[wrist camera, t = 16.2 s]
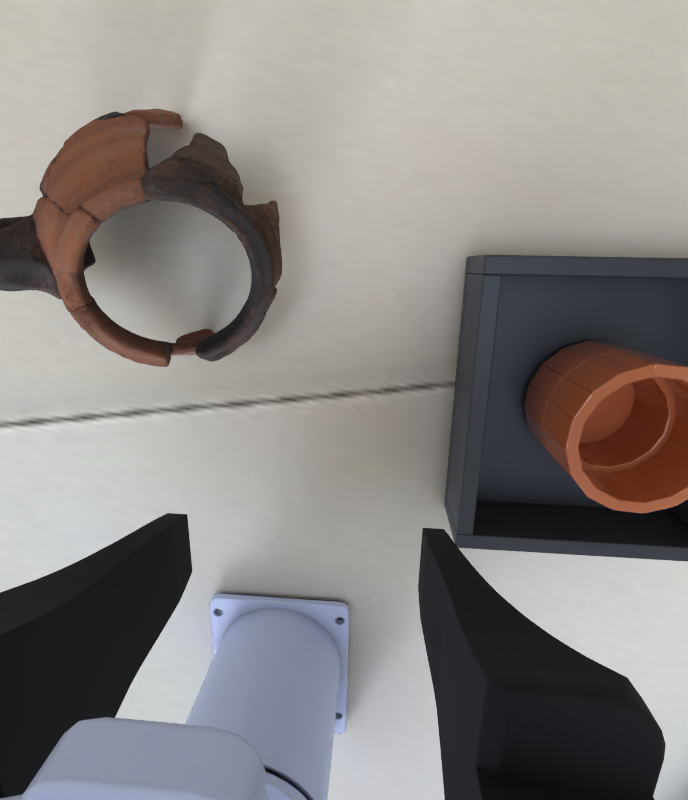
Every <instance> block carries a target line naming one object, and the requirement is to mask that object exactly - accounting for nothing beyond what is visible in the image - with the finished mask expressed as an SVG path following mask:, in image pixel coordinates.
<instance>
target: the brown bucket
mask: <svg viewBox="0 0 688 800" xmlns="http://www.w3.org/2000/svg"><path fill="white" fill-rule="evenodd" d="M529 384H530V385H528V389H527V394H526V399H525V403H524V412H525V416H526V420H527V425H528V428H529V430H530V432H531V433H532V434H533V435H534V437H535V438H536V439H537V441H538V442H539V443H540V444H541V446H542V447H543V448H544V449H545V450H546V451H547V452H548V453H549V455H550V456H551V457H552V458H553V459H554V460H555V461H556V462H557V463H558V465H559V466H560V467H561V468H562V469H563V470H564V471H565V472H566V474H567V475H568V476H569V477H570V478H571V479H572V480H573V481H574V482H575V484H576V485H577V486H578V487H579V488H580V489H581V490H582V491H583V493H584V494H585V495H586V496H588V497H589V498H591V499H593V500H594V501H596V502H598V503H600V504H602V505H604V506H606V507H608V508H610V509H612V510H617V511H626V512H635V513H648V512H653V511H657V510H662V509H666V508H671V507H674V506H677V505H679V504H680V503H682V502H684V501H685V500H687V499H688V367H686V366H683V365H680V364H677V363H674V362H671V361H668V360H665V359H662V358H659V357H656V356H653V355H650V354H647V353H644V352H641V351H638V350H635V349H632V348H629V347H626V346H623V345H620V344H616V343H612V342H601V341H586V342H582V343H579V344H575V345H572V346H568V347H565V348H563V349H562V350H560V351H559V352H557V353H556V354H555V355H553V356H552V357H551V358H549V359H548V360H546V361H545V362H544V363H543V364H542V365H541V367H540V368H539V370H538V371H537V373H536V374H535V375H534V377H533V378H532V380H531V381H530V383H529Z"/></svg>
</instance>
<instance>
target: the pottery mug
mask: <svg viewBox="0 0 688 800" xmlns="http://www.w3.org/2000/svg"><path fill="white" fill-rule="evenodd" d="M181 127H182V120H181V116H180V115H179V114H177V113H174V112H170V111H166V110H161V109H150V110H132V111H129V112H126V113H119V112H112V113H109V114H106V115H104V116H101V117H99V118H97V119H95V120H93V121H91V122H90V123H88V124H87V125H85V126H83V127H82V128H80V129H79V130H77V131H76V132H75V133H74V134H72V135H71V136H70V138H69V139H67V140H66V141H65V143H64V146H63V147H62V148H61V150H60V151H59V152H58V154H57V155H56V157H55V158H54V159H53V160H52V161H51V163H50V164H49V166H48V168H47V169H46V172H45V174H44V176H43V179H42V181H41V183H40V191H41V192H42V194H43V197H42V198H40V199H39V200H38V201H37V204H36V207H35V209H34V212H33V214H32V215H30V216H25V217H14V218H2V219H0V290H3V291H22V290H39V291H43V292H46V293H49V294H51V295H53V296H55V297H56V298H58V299H62V300H63V302H64V304H65V306H66V308H67V310H68V311H69V312H70V313H71V315H72V316H73V318H74V319H75V320H76V321H77V322H78V323H79V325H80V326H81V327H82V328H83V329H84V330H85V331H86V332H87V333H88V334H89V335H90V336H91V337H93V338H94V339H95V340H96V341H97V342H99V343H100V344H101V345H103V346H104V347H105V348H107V349H108V350H110V351H113V352H115V353H117V354H119V355H121V356H122V357H124V358H128V359H130V360H132V361H135V362H138V363H143V364H147V365H152V366H160V367H167V366H168V365H169V363H170V360H171V355H194V354H197V356H198V357H200V358H202V359H205V360H208V361H216V360H219V359H221V358H223V357H225V356H227V355H229V354H231V353H232V352H234V351H235V350H236V349H237V348H238V347H240V346H241V345H243V344H244V343H245V342H247V341H248V340H249V339H250V338H251V337H252V336H253V335H254V333H255V332H256V331H257V330H258V328H259V326H260V325H261V323H262V321H263V319H264V317H265V315H266V312H267V310H268V309H269V307H270V305H271V303H272V301H273V300H274V298H275V295H276V292H277V289H276V287H275V286H276V284H277V282H278V281H279V279H280V277H281V274H282V257H281V248H280V234H279V214H278V207H277V203H276V201H270V202H269V203H268V204H259V205H244V203H243V201H242V193H243V186H242V184H241V181H240V177H239V174H238V172H237V171H236V169H235V168H234V167H233V165H232V164H231V163H230V162H229V160H228V155H227V151H226V149H225V147H224V146H223V145H222V144H221V143H219V142H217V141H215V140H214V139H212V138H210V137H208V136H207V135H205V134H202V133H196V134H195V135H194V136H193V138H192V141H191V142H190V145H188V146H185V147H182V148H181V149H179V150H177V151H176V152H175V153H174V154H173V155H172V156H171V157H170V158H167V159H166V160H164V161H162V162H161V163H160V164H158V165H156V166H154V167H153V168H151V169H149V166H148V160H147V140H148V137H149V133H150V129H151V128H174V129H180V128H181ZM150 200H166V201H175V202H181V203H185V204H189V205H192V206H195V207H197V208H199V209H202V210H204V211H205V212H207V213H209V214H211V215H213V216H214V217H216V218H217V219H219V220H220V221H222V222H223V223H224V224H225V225H226V226H227V227H229V228H230V229H231V230H232V231H233V232H235V233H236V234H237V236H238V238H239V240H240V241H241V242H242V244H243V246H244V248H245V250H246V252H247V255H248V257H249V261H250V265H251V272H252V283H251V289H250V293H249V297H248V299H247V301H246V303H245V305H244V306H243V308H242V310H241V311H240V313H239V314H238V315H237V317H236V318H235V319H234V320H233V321H232V322H231V323H230V324H229V325H228V326H226V327H225V328H223V329H222V330H220V331H219V332H217V333H213V332H212V331H211V330H209V329H203V330H199V331H196V332H192V333H189V334H186V335H183V336H181V337H179V338H178V339H177V340H176V343H169V342H163V341H156V340H152V339H148V338H145V337H141V336H139V335H136V334H134V333H132V332H130V331H128V330H126V329H124V328H122V327H121V326H119V325H118V324H116V323H115V322H114V321H112V320H111V319H110V318H109V317H108V316H107V315H106V314H105V313H104V312H103V311H102V310H101V309H100V308H99V306H98V305H97V303H96V302H95V300H94V298H93V297H92V296H91V295H90V293H89V291H88V288H87V285H86V281H85V277H84V270H85V269H87V268H88V267H89V266H92V265H93V264H94V263H95V262H96V260H95V257H94V254H93V251H92V249H91V246H90V242H89V240H90V238H91V236H92V235H93V233H94V232H95V230H96V229H97V228H98V227H99V226H100V224H101V223H102V222H104V221H105V220H107V219H108V218H109V217H111V216H112V215H113V214H115V213H116V212H118V211H120V210H122V209H124V208H126V207H129V206H132V205H136V204H140V203H144V202H148V201H150Z"/></svg>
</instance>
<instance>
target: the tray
mask: <svg viewBox="0 0 688 800" xmlns="http://www.w3.org/2000/svg"><path fill="white" fill-rule="evenodd" d="M586 341H601V342H612V343H616V344H620V345H623V346H626V347H629V348H632V349H635V350H638V351H641V352H644V353H647V354H650V355H653V356H656V357H659V358H662V359H665V360H668V361H671V362H674V363H677V364H680V365H683V366H686V367H688V258H635V257H578V256H521V255H481V256H470V257H467V260H466V271H465V282H464V293H463V305H462V316H461V327H460V338H459V349H458V360H457V371H456V382H455V393H454V404H453V415H452V426H451V437H450V448H449V459H448V470H447V481H446V492H445V503H444V505H445V509H446V512H447V516H448V520H449V523H450V527H451V531H452V534H453V538H454V542H455V545H456V546H457V547H458V548H473V549H490V550H507V551H524V552H540V553H557V554H574V555H590V556H607V557H624V558H640V559H657V560H674V561H688V499H687V500H685V501H684V502H682V503H680V504H679V505H677V506H674V507H671V508H666V509H662V510H657V511H653V512H648V513H635V512H626V511H617V510H612V509H610V508H608V507H606V506H604V505H602V504H600V503H598V502H596V501H594V500H593V499H591V498H589V497H588V496H586V495H585V494H584V493H583V491H582V490H581V489H580V488H579V487H578V486H577V485H576V484H575V482H574V481H573V480H572V479H571V478H570V477H569V476H568V475H567V474H566V472H565V471H564V470H563V469H562V468H561V467H560V466H559V465H558V463H557V462H556V461H555V460H554V459H553V458H552V457H551V456H550V455H549V453H548V452H547V451H546V450H545V449H544V448H543V447H542V446H541V444H540V443H539V442H538V441H537V439H536V438H535V437H534V435H533V434H532V433H531V432H530V430H529V428H528V425H527V420H526V416H525V412H524V403H525V399H526V394H527V389H528V385H530V384H529V383H530V381H531V380H532V378H533V377H534V375H535V374H536V373H537V371H538V370H539V368H540V367H541V365H542V364H543V363H544V362H545V361H546V360H548V359H549V358H551V357H552V356H553V355H555V354H556V353H557V352H559V351H560V350H562V349H563V348H565V347H568V346H572V345H575V344H579V343H582V342H586Z"/></svg>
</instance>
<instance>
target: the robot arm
mask: <svg viewBox="0 0 688 800" xmlns="http://www.w3.org/2000/svg"><path fill="white" fill-rule="evenodd" d="M191 573H192V563H191V552H190V541H189V530H188V519H187V514H170V513H168V514H166V515H163V516H161V517H159V518H157V519H156V520H154V521H152V522H150V523H148V524H146V525H145V526H143V527H141V528H139V529H138V530H136V531H134V532H132V533H131V534H129V535H127V536H125V537H123V538H122V539H120V540H118V541H116V542H115V543H113V544H111V545H109V546H107V547H105V548H103V549H101V550H99V551H98V552H96V553H94V554H92V555H90V556H88V557H86V558H84V559H82V560H80V561H78V562H76V563H74V564H72V565H70V566H68V567H65V568H63V569H61V570H59V571H56V572H54V573H52V574H49V575H47V576H44V577H42V578H40V579H37V580H34V581H32V582H29V583H26V584H23V585H21V586H18V587H15V588H12V589H9V590H7V591H4V592H1V593H0V800H327V797H328V787H329V777H330V766H331V756H332V746H333V736H334V734H341V733H343V732H344V731H345V730H346V718H347V679H348V641H349V607H348V605H347V604H345V603H343V602H333V601H319V600H304V599H290V598H275V597H261V596H246V595H232V594H215V595H213V597H212V598H211V600H210V617H211V630H212V642H213V655H214V658H213V660H212V662H211V665H210V667H209V670H208V672H207V674H206V677H205V679H204V681H203V684H202V686H201V688H200V691H199V693H198V696H197V698H196V700H195V703H194V705H193V707H192V710H191V712H190V714H189V717H188V719H187V721H186V724H177V723H165V722H154V721H143V720H132V719H120V718H115V716H116V714H117V712H118V710H119V708H120V706H121V703H122V701H123V699H124V697H125V695H126V693H127V691H128V689H129V687H130V685H131V683H132V681H133V679H134V677H135V675H136V674H137V672H138V670H139V668H140V666H141V665H142V663H143V661H144V660H145V658H146V656H147V655H148V653H149V652H150V650H151V648H152V647H153V645H154V643H155V642H156V640H157V638H158V637H159V635H160V633H161V632H162V630H163V628H164V627H165V625H166V623H167V622H168V620H169V618H170V617H171V615H172V613H173V612H174V610H175V608H176V606H177V605H178V603H179V601H180V599H181V597H182V594H183V592H184V590H185V588H186V585H187V583H188V580H189V578H190V576H191ZM418 589H419V605H420V618H421V624H422V629H423V634H424V640H425V645H426V650H427V656H428V661H429V666H430V671H431V677H432V682H433V687H434V693H435V699H436V706H437V715H438V726H439V736H440V747H441V759H442V770H443V782H444V794H445V800H654V798H653V794H654V791H655V787H656V784H657V781H658V777H659V774H660V770H661V767H662V764H663V760H664V753H665V741H664V737H663V734H662V730H661V729H660V727H659V725H658V724H657V722H656V720H655V719H654V717H653V715H652V714H651V712H650V710H649V709H648V707H647V706H646V704H645V702H644V701H643V699H642V698H641V696H640V695H639V693H638V692H637V691H636V689H635V688H634V686H633V685H632V684H631V682H630V681H629V679H628V678H627V677H625V676H623V675H621V674H619V673H617V672H615V671H613V670H611V669H609V668H607V667H605V666H603V665H601V664H599V663H597V662H595V661H593V660H591V659H589V658H587V657H586V656H584V655H582V654H581V653H579V652H577V651H575V650H574V649H572V648H570V647H569V646H567V645H565V644H564V643H562V642H561V641H559V640H558V639H556V638H555V637H553V636H551V635H550V634H548V633H547V632H546V631H544V630H543V629H541V628H540V627H539V626H537V625H536V624H535V623H533V622H532V621H530V620H529V619H528V618H526V617H525V616H524V615H523V614H521V613H520V612H519V611H518V610H517V609H515V608H514V607H513V606H512V605H511V604H510V603H508V602H507V601H506V600H505V599H504V598H503V597H502V596H501V595H499V594H498V593H497V592H496V591H495V590H494V589H493V588H492V587H491V586H490V585H489V584H488V583H487V582H486V581H485V579H484V578H483V577H482V576H481V575H480V574H479V573H478V572H477V570H476V569H475V568H474V567H473V566H472V565H471V563H470V562H469V561H468V560H467V559H466V557H465V556H464V555H463V554H462V552H461V551H460V550H459V549H458V547H457V546H456V545H455V543H454V542H453V541H452V539H451V538H450V537H449V535H448V534H447V533H446V531H445V530H444V529H431V528H423V532H422V545H421V558H420V571H419V584H418ZM217 609H221V610H222V611H218V610H217ZM338 617H341V618H343V620H339V619H337V618H338Z"/></svg>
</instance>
